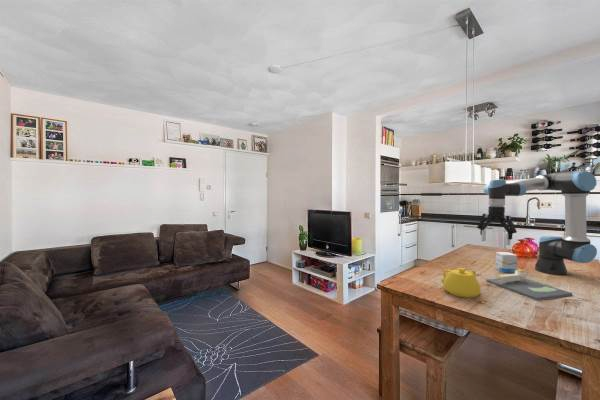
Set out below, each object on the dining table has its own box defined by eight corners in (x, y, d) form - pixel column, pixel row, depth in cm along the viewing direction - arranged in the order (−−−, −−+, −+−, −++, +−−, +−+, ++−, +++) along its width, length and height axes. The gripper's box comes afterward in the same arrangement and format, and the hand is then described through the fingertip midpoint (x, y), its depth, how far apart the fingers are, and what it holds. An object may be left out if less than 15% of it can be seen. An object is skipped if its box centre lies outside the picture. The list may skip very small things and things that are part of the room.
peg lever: (519, 278, 149) (519, 268, 149) (528, 281, 144) (528, 271, 144) (492, 281, 145) (493, 271, 145) (501, 284, 140) (501, 274, 140)
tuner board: (518, 278, 155) (518, 275, 155) (572, 295, 130) (572, 292, 130) (486, 281, 149) (486, 278, 149) (536, 300, 124) (536, 297, 124)
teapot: (468, 301, 123) (469, 275, 122) (432, 288, 140) (432, 265, 139) (490, 293, 132) (491, 269, 132) (454, 282, 149) (455, 260, 148)
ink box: (517, 273, 164) (517, 255, 164) (502, 272, 166) (502, 254, 165) (509, 269, 173) (509, 252, 172) (494, 268, 174) (495, 251, 174)
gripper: (471, 205, 158) (470, 239, 159) (517, 207, 135) (516, 247, 136) (478, 204, 161) (477, 238, 162) (525, 207, 139) (524, 246, 139)
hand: (495, 242), depth 149 cm, fingers open, 12 cm apart
